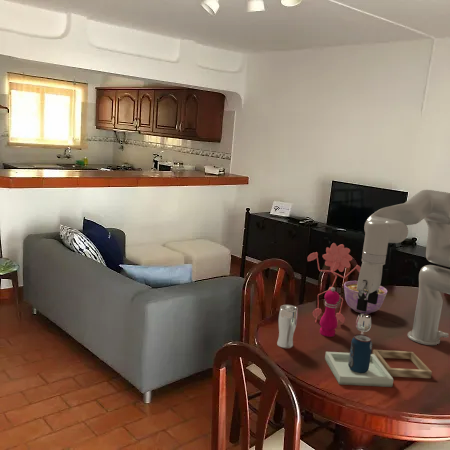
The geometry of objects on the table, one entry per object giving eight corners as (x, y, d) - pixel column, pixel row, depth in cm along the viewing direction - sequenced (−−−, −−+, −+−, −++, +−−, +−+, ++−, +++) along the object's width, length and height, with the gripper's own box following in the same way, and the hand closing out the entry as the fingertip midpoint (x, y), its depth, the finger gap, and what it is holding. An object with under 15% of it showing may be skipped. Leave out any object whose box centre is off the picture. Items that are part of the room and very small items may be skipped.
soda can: (371, 370, 168) (376, 338, 165) (361, 376, 163) (366, 343, 160) (354, 363, 172) (358, 331, 170) (343, 368, 167) (348, 336, 165)
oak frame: (411, 357, 183) (412, 351, 182) (430, 378, 168) (431, 371, 167) (371, 355, 182) (372, 349, 181) (387, 376, 166) (388, 369, 166)
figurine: (356, 333, 202) (367, 251, 196) (296, 319, 212) (306, 241, 206) (361, 322, 215) (372, 245, 210) (305, 309, 226) (314, 236, 220)
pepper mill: (336, 338, 194) (342, 291, 191) (318, 335, 196) (324, 288, 192) (335, 331, 201) (342, 286, 198) (318, 329, 203) (324, 283, 199)
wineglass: (360, 348, 187) (364, 319, 184) (349, 342, 192) (353, 314, 189) (371, 346, 189) (375, 318, 187) (360, 340, 194) (364, 312, 192)
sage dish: (372, 361, 177) (374, 354, 176) (392, 386, 159) (393, 379, 159) (324, 358, 176) (325, 351, 175) (338, 384, 158) (340, 376, 157)
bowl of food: (388, 310, 233) (392, 287, 231) (377, 322, 216) (381, 297, 214) (348, 300, 243) (351, 278, 241) (334, 310, 227) (337, 287, 224)
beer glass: (295, 343, 187) (299, 306, 184) (292, 350, 180) (296, 312, 177) (278, 339, 189) (282, 303, 186) (273, 346, 182) (278, 308, 179)
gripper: (372, 251, 169) (365, 298, 172) (352, 259, 155) (346, 310, 158) (393, 256, 164) (386, 303, 168) (375, 265, 151) (368, 316, 154)
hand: (366, 306), depth 163 cm, fingers open, 9 cm apart
